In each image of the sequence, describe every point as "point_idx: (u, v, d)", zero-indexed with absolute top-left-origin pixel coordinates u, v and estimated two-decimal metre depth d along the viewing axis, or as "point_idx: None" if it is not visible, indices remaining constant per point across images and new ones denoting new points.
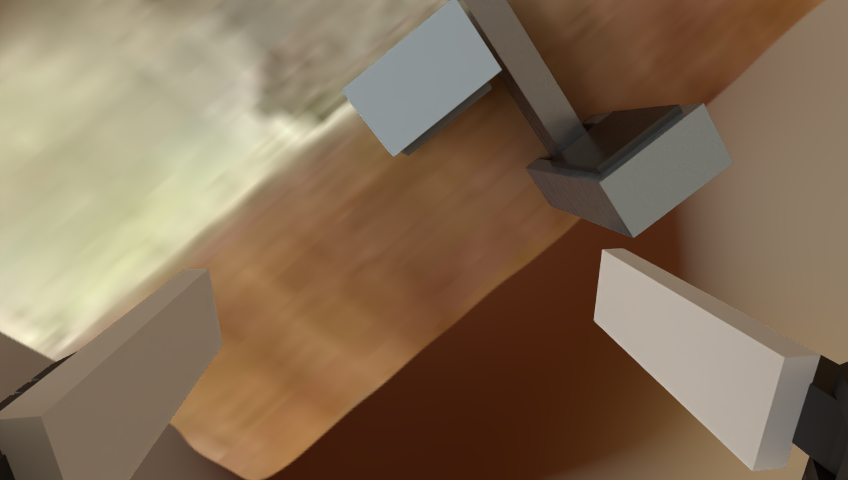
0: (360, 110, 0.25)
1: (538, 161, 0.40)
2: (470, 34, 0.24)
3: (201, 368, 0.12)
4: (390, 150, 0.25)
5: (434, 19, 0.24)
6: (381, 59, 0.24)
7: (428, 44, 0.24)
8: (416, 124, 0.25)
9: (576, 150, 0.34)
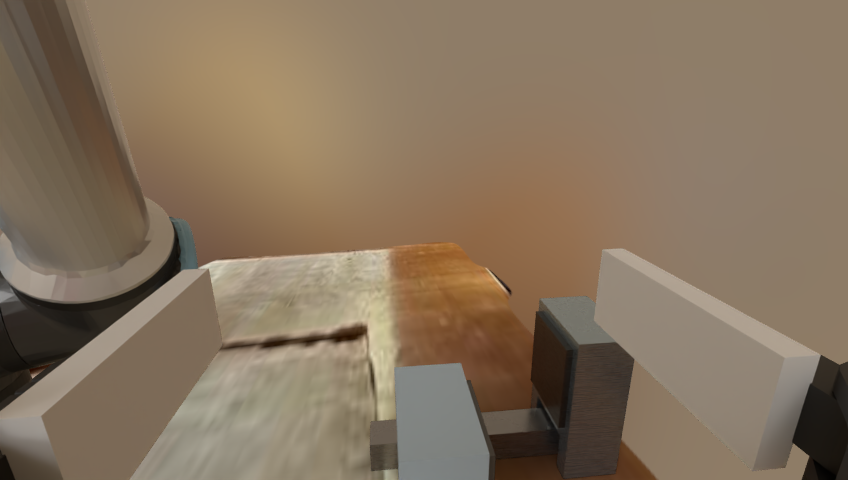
0: (427, 457, 0.22)
1: (559, 459, 0.38)
2: (424, 368, 0.30)
3: (201, 368, 0.12)
4: (481, 453, 0.22)
5: (398, 381, 0.28)
6: (398, 421, 0.25)
7: (412, 390, 0.27)
8: (468, 423, 0.24)
9: (552, 394, 0.37)
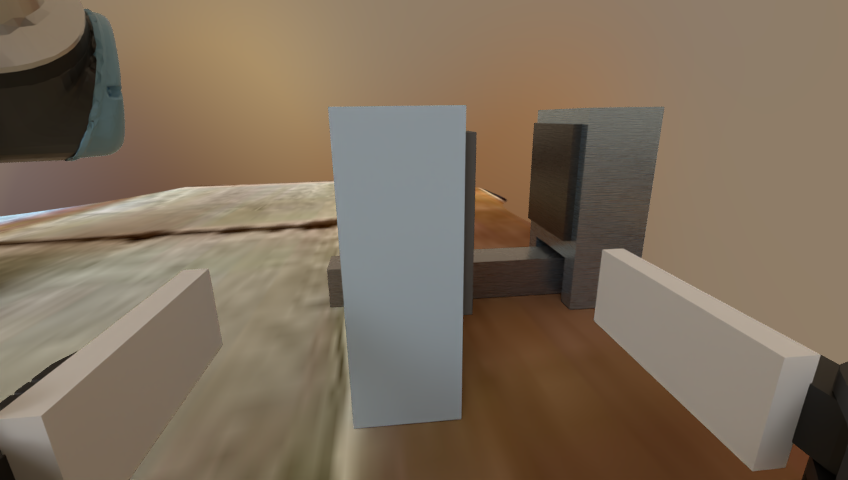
0: (373, 107, 0.15)
1: (564, 289, 0.30)
2: None
3: (201, 368, 0.12)
4: None
5: None
6: None
7: None
8: None
9: (555, 204, 0.30)
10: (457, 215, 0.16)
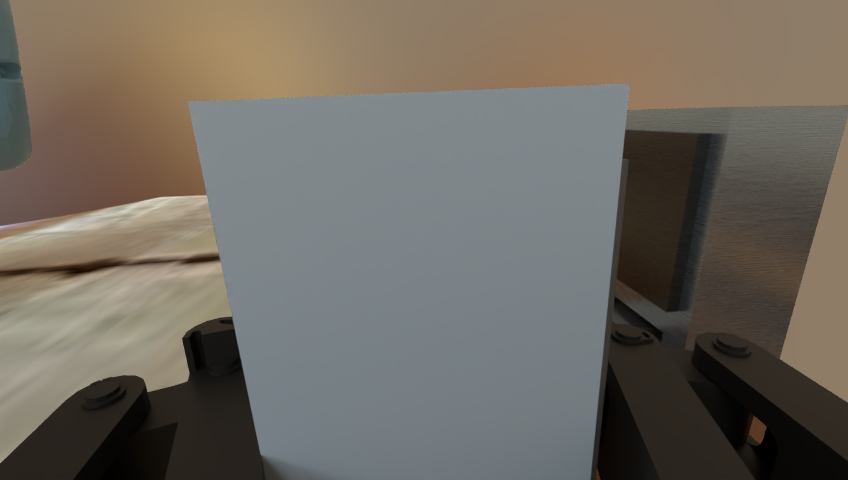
0: (339, 98, 0.05)
1: None
2: None
3: None
4: (591, 85, 0.05)
5: None
6: None
7: None
8: None
9: (650, 253, 0.20)
10: (581, 384, 0.06)
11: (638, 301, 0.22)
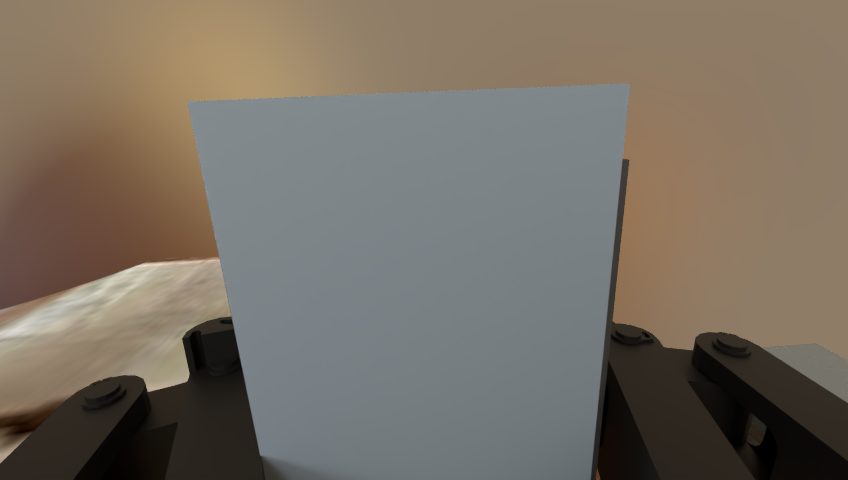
0: (339, 98, 0.05)
1: None
2: None
3: None
4: (591, 85, 0.05)
5: None
6: None
7: None
8: None
9: None
10: (581, 384, 0.06)
11: None
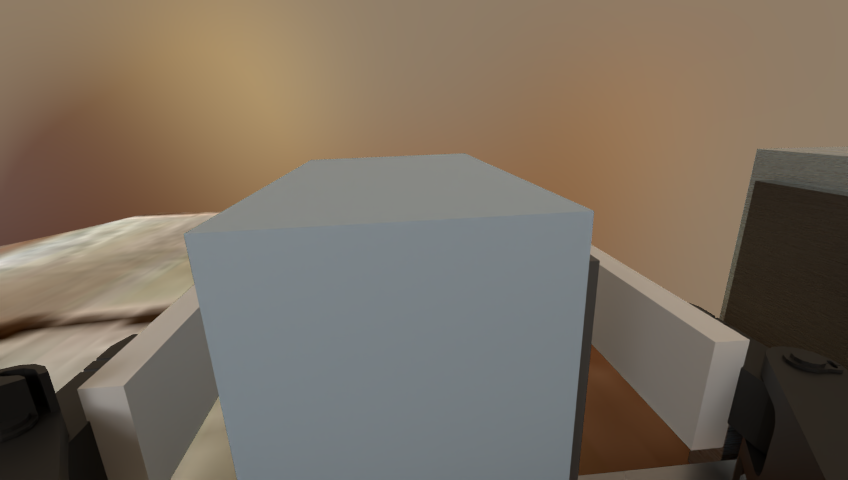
0: (323, 225, 0.05)
1: None
2: (379, 158, 0.13)
3: None
4: (558, 211, 0.05)
5: (310, 165, 0.11)
6: (265, 189, 0.08)
7: (337, 168, 0.10)
8: (493, 184, 0.07)
9: None
10: (552, 470, 0.06)
11: None
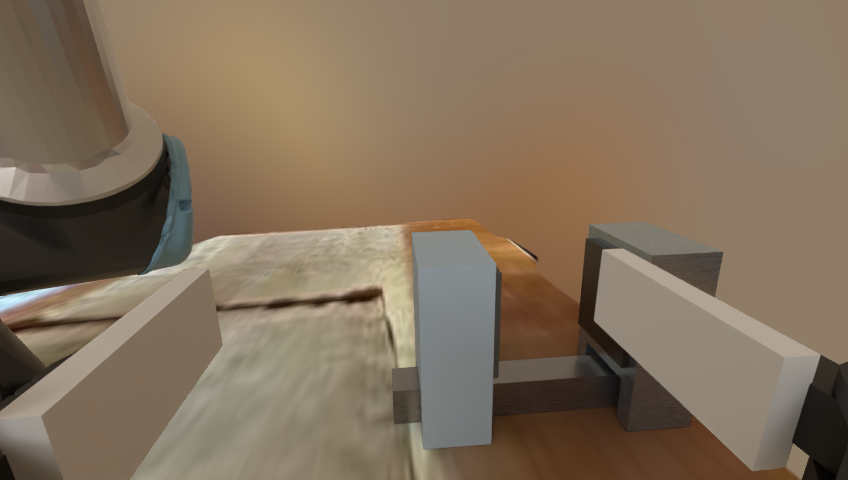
0: (442, 266, 0.26)
1: (620, 409, 0.31)
2: (438, 232, 0.33)
3: (201, 368, 0.12)
4: (489, 263, 0.26)
5: (416, 237, 0.32)
6: (416, 253, 0.28)
7: (428, 241, 0.31)
8: (478, 253, 0.28)
9: None
10: (490, 323, 0.27)
11: (607, 356, 0.33)
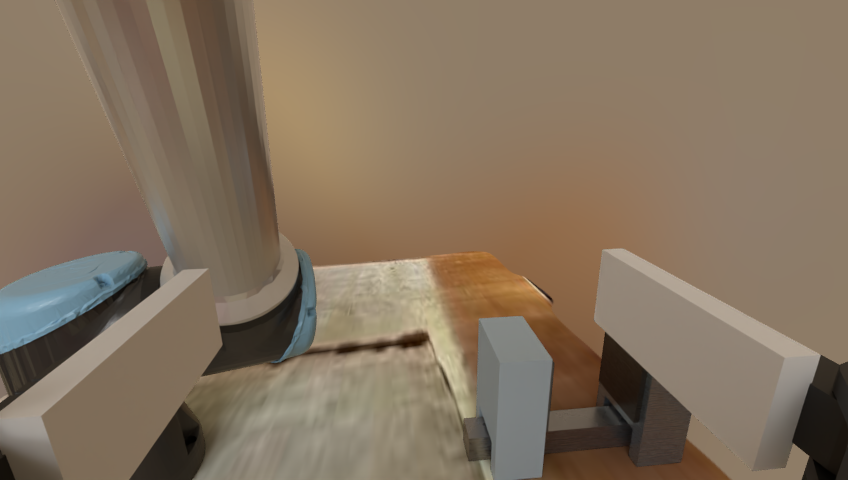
0: (516, 361, 0.37)
1: (631, 450, 0.43)
2: (499, 319, 0.45)
3: (201, 368, 0.12)
4: (547, 359, 0.38)
5: (484, 325, 0.44)
6: (492, 345, 0.40)
7: (495, 330, 0.43)
8: (536, 346, 0.40)
9: (627, 394, 0.43)
10: (546, 397, 0.39)
11: (622, 410, 0.45)
